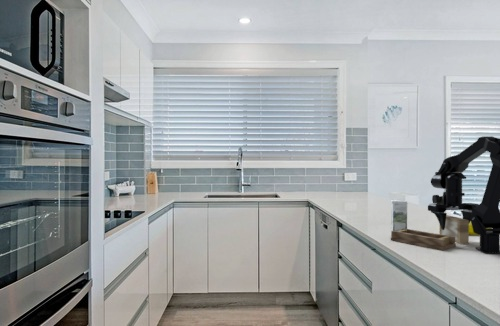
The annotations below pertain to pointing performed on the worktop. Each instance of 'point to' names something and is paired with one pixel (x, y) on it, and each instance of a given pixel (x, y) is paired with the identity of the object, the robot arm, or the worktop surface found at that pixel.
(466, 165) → the robot arm
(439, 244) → the walnut ledge
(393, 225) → the syrup box
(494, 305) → the worktop surface
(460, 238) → the tan box
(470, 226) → the element tile
